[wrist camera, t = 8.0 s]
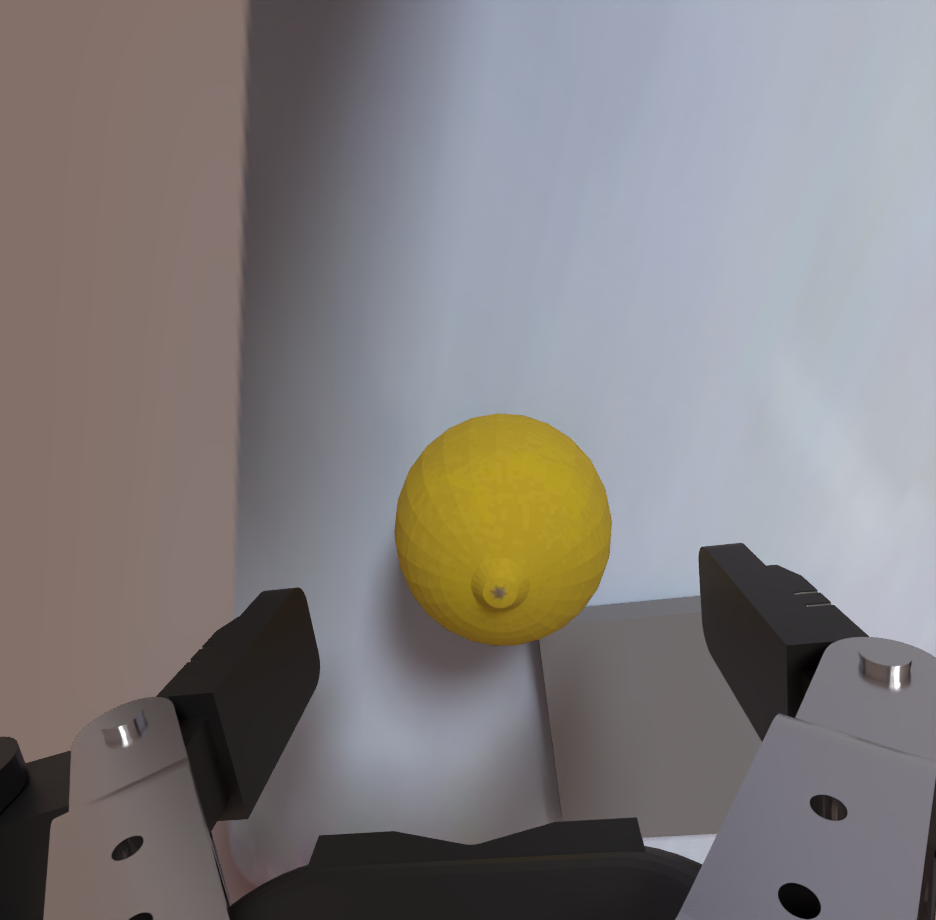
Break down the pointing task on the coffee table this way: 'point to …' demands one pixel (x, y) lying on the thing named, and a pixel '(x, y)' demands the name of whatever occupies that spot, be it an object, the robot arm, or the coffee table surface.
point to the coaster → (644, 719)
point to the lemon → (503, 529)
